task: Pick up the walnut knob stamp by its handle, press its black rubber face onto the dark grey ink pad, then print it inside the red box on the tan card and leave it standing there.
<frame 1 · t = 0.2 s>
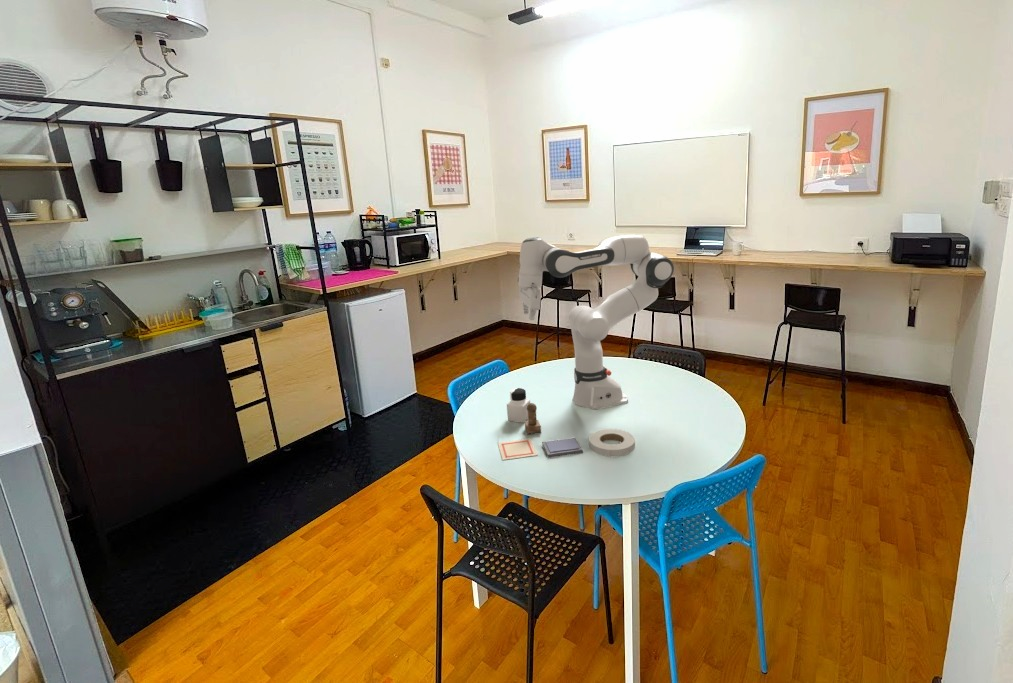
hand: (528, 316, 198), 39 cm above the table, tool pointing down, fingers open, 8 cm apart
ink pad: (562, 449, 176), on the table
medicine bottle: (519, 418, 201), on the table
roll of tape: (611, 446, 176), on the table
tan card: (517, 449, 178), on the table
walnut stamp: (533, 430, 190), on the table
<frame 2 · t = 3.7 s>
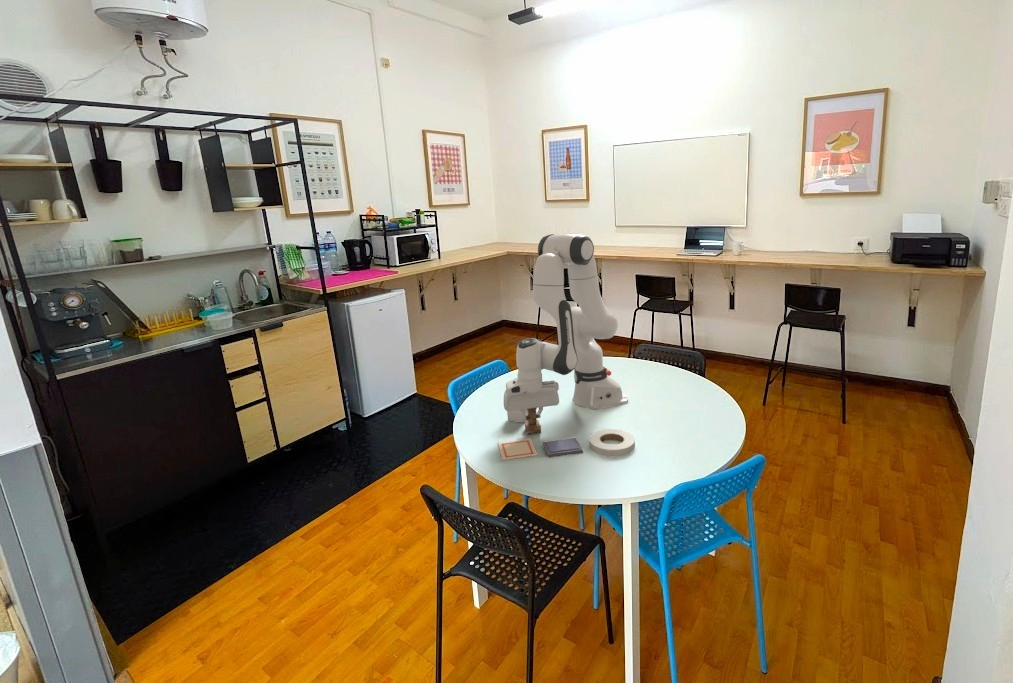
hand: (532, 418, 189), 5 cm above the table, tool pointing down, fingers closed on walnut stamp, 3 cm apart
walnut stamp: (533, 430, 190), on the table, touching gripper
everything else where it was.
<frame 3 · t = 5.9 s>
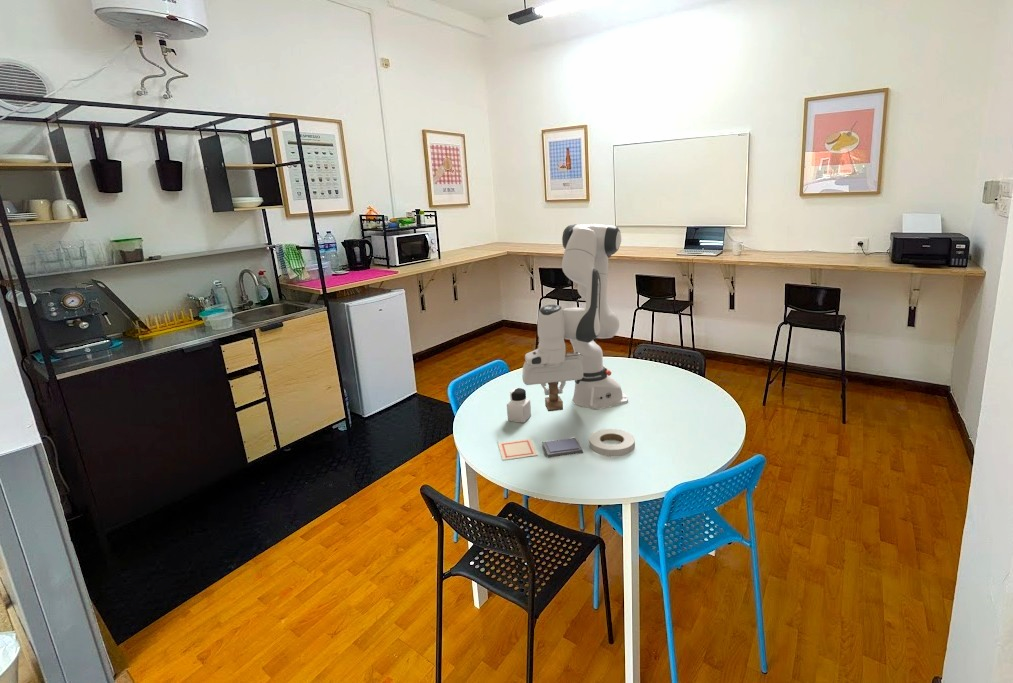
hand: (553, 393, 172), 20 cm above the table, tool pointing down, fingers closed on walnut stamp, 3 cm apart
walnut stamp: (554, 407, 174), point 15 cm above the table, touching gripper
everything else where it was.
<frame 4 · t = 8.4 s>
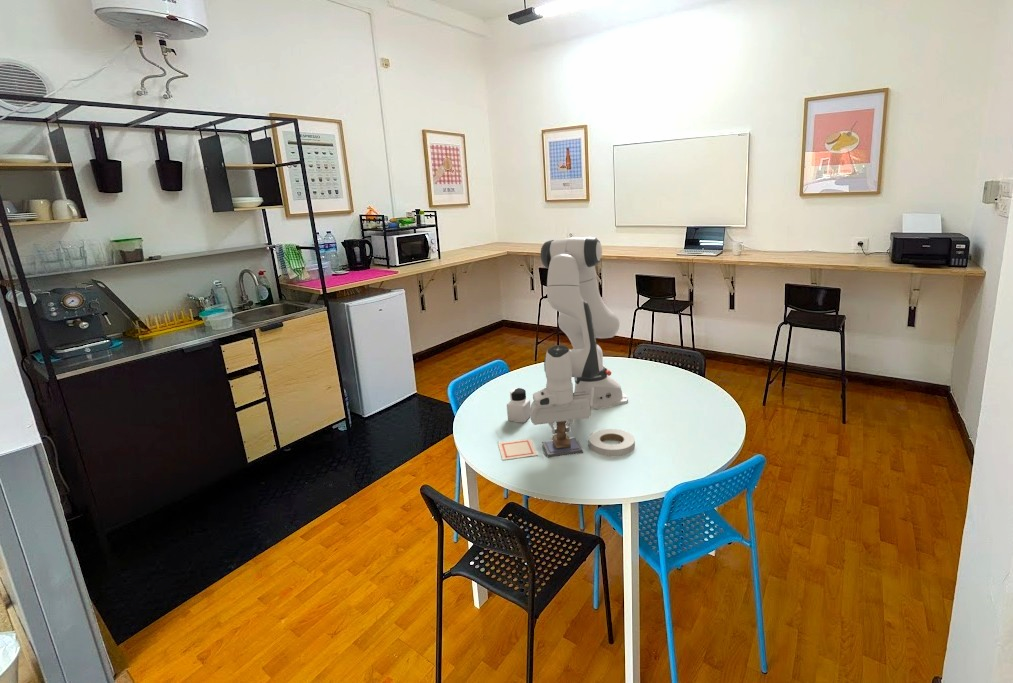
hand: (561, 432, 174), 6 cm above the table, tool pointing down, fingers closed on walnut stamp, 3 cm apart
walnut stamp: (561, 445, 175), point 1 cm above the table, touching gripper, ink pad
everything else where it was.
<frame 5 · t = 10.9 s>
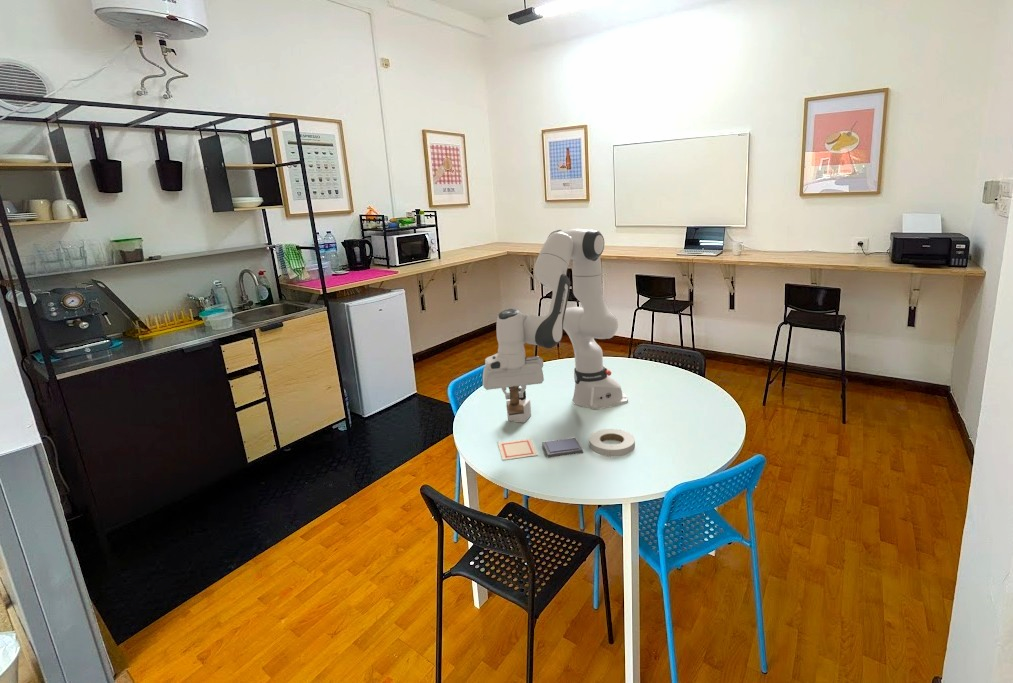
hand: (514, 397, 172), 19 cm above the table, tool pointing down, fingers closed on walnut stamp, 3 cm apart
walnut stamp: (515, 411, 173), point 14 cm above the table, touching gripper
everything else where it was.
when the fingers open (5 cm above the table, at t = 13.2 s): walnut stamp stays where it is, resting on tan card.
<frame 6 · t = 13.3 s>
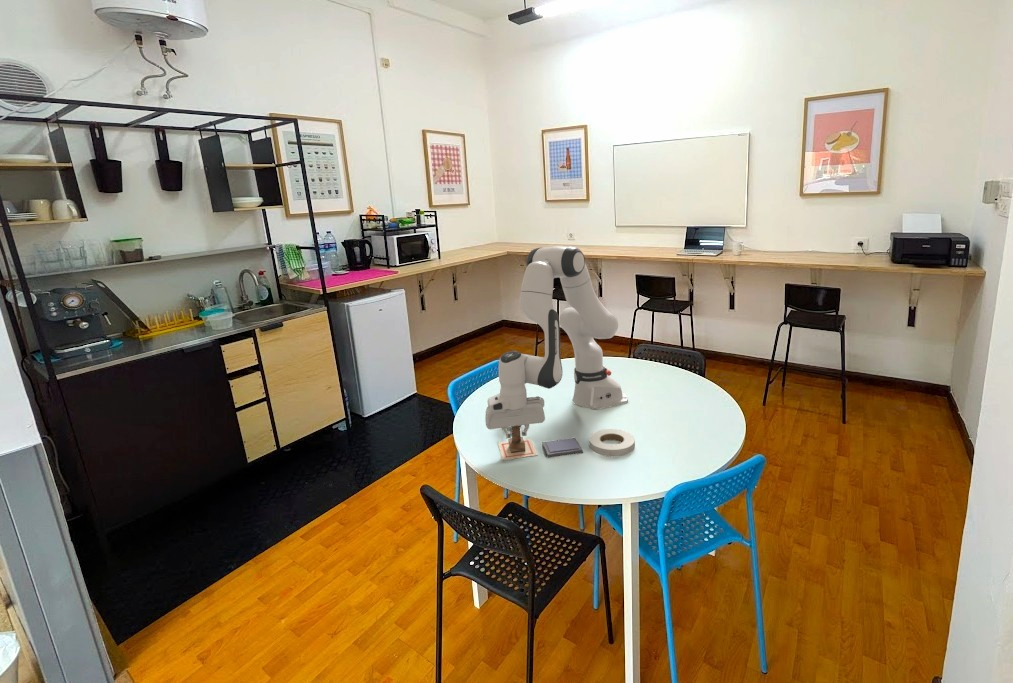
hand: (516, 436, 176), 5 cm above the table, tool pointing down, fingers open, 4 cm apart
walnut stamp: (517, 448, 178), resting on tan card
everything else where it was.
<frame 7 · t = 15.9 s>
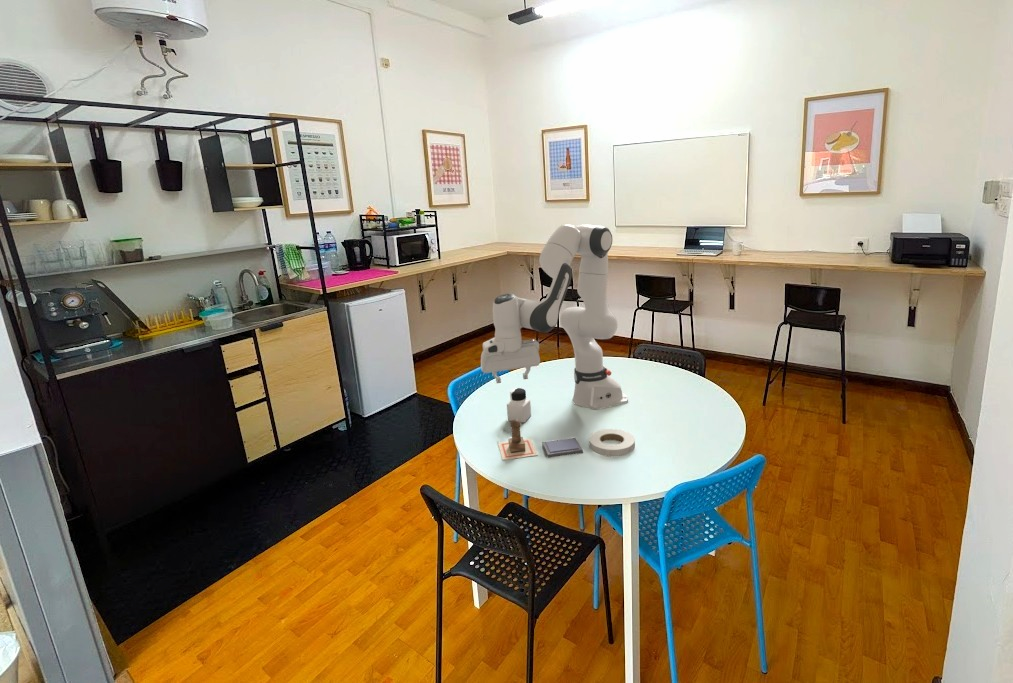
hand: (512, 380, 177), 23 cm above the table, tool pointing down, fingers open, 8 cm apart
nothing on the table moved.
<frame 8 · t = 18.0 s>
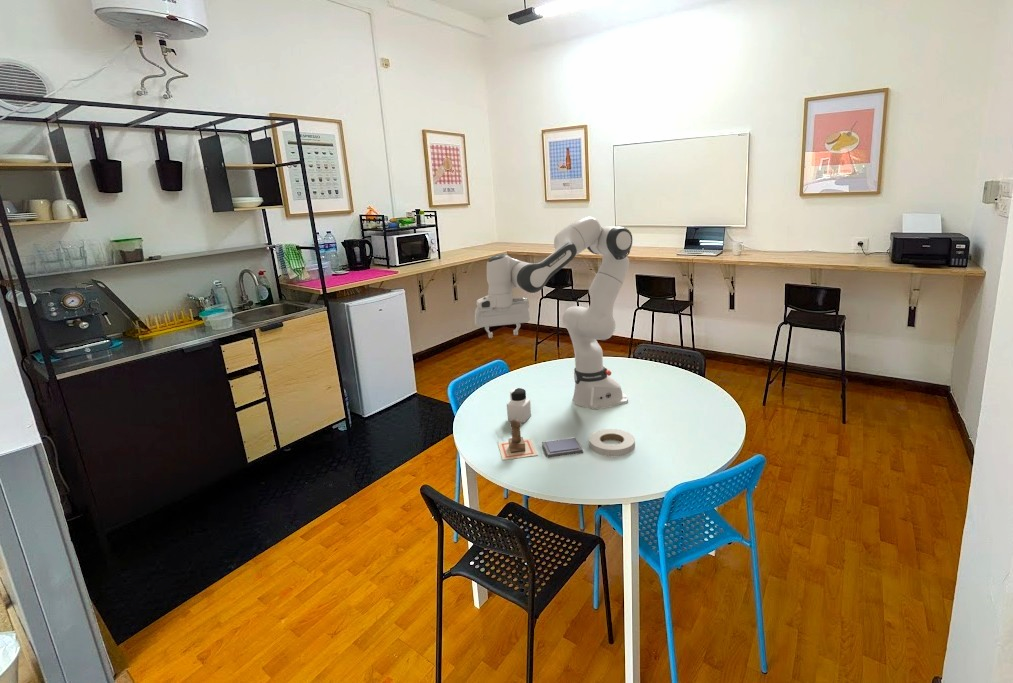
hand: (503, 336, 191), 34 cm above the table, tool pointing down, fingers open, 8 cm apart
nothing on the table moved.
at the end: walnut stamp 0.0 cm off-centre on the tan card, point 0.2 cm above the tan card's base; walnut stamp tilted 0°; the gripper is holding nothing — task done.
